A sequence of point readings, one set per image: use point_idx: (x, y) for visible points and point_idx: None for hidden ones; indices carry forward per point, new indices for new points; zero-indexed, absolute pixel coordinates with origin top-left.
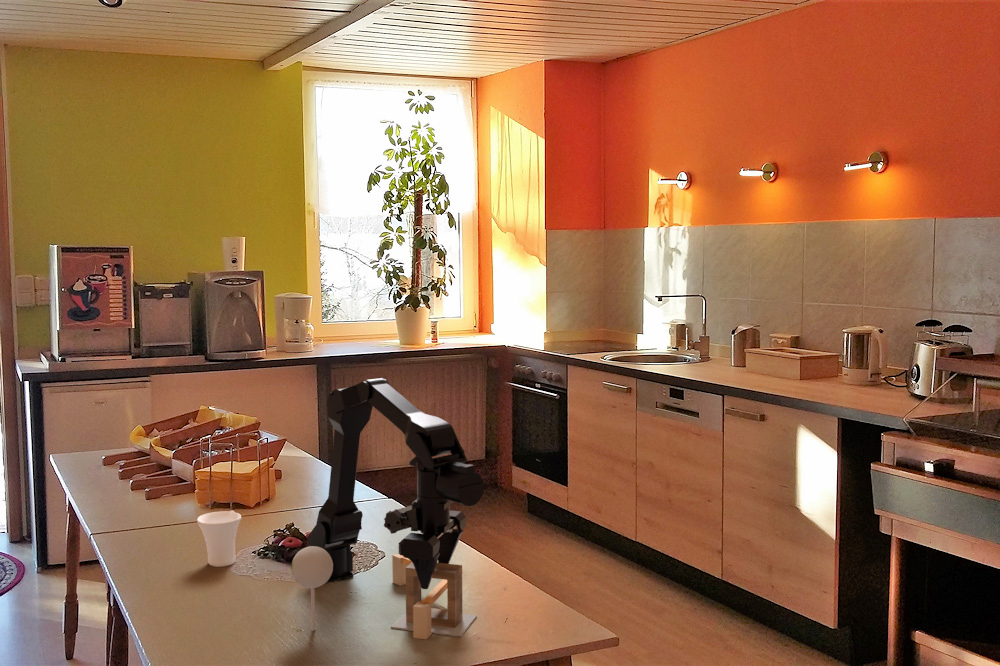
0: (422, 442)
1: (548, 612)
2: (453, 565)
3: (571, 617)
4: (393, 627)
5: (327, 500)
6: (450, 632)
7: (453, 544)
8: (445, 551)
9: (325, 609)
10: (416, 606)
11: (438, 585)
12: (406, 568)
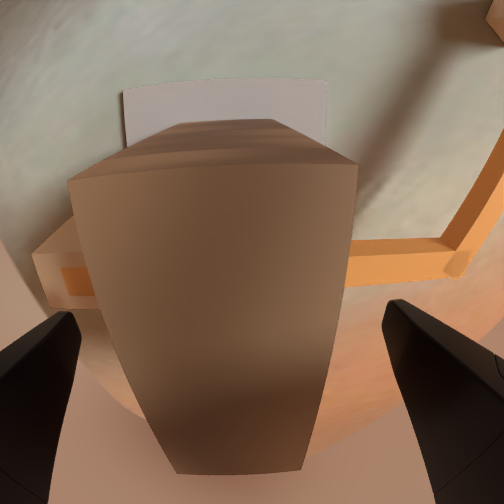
0: None
1: (357, 411)
2: (287, 454)
3: (337, 436)
4: (125, 99)
5: None
6: None
7: (439, 490)
8: (441, 421)
9: None
10: (37, 267)
11: None
12: (71, 190)
